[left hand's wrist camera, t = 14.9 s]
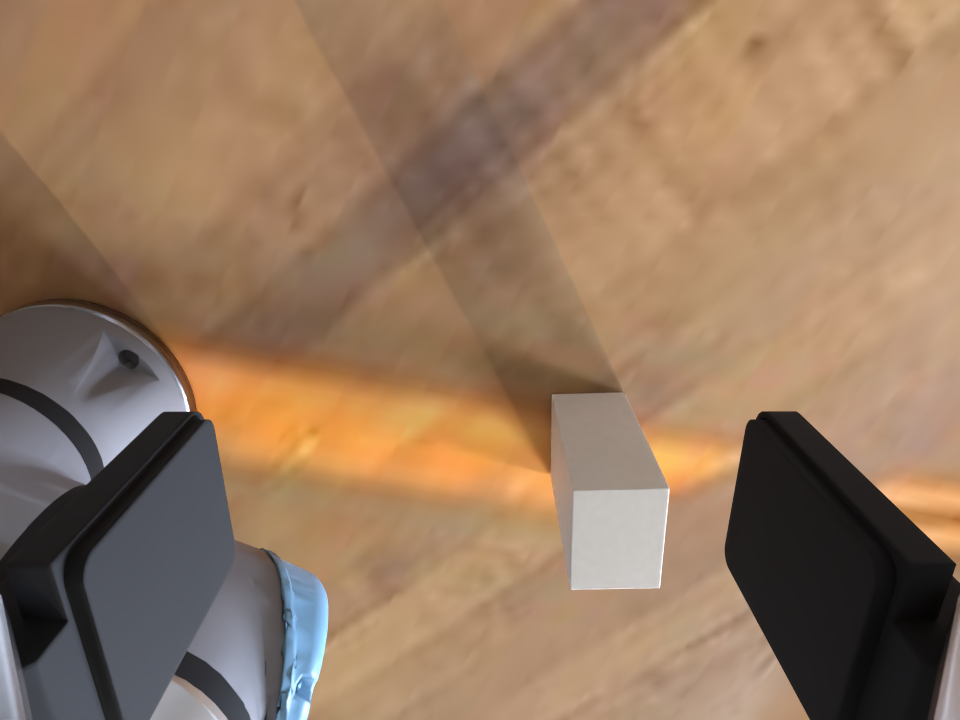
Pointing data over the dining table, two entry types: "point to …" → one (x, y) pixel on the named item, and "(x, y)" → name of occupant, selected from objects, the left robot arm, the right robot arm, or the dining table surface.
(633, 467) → the block
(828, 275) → the dining table surface
